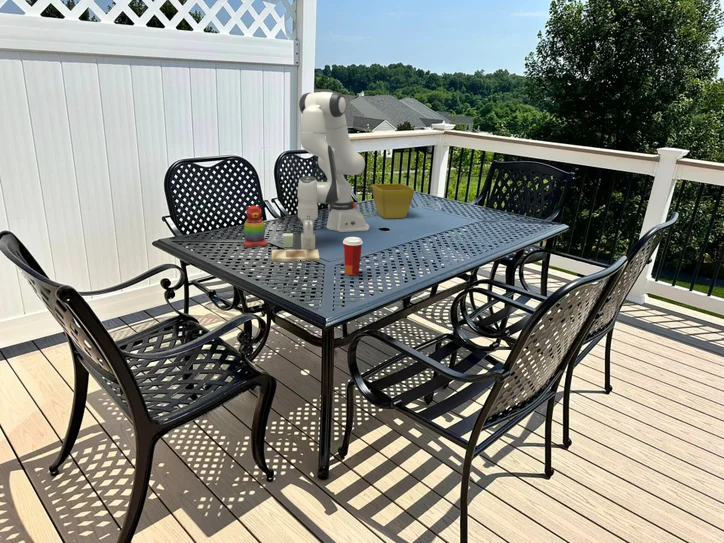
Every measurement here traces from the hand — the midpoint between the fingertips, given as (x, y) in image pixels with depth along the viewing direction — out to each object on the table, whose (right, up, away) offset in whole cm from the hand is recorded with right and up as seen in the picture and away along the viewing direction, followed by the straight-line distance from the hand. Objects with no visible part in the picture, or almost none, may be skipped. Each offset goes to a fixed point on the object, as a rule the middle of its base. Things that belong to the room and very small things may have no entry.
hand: (307, 243), depth 233 cm
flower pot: (+41, +19, +61) cm, 76 cm away
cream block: (0, -2, +1) cm, 2 cm away
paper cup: (+21, -14, -28) cm, 38 cm away
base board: (-4, -6, -12) cm, 14 cm away
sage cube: (-9, -1, +1) cm, 9 cm away
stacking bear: (-25, 0, +3) cm, 25 cm away
